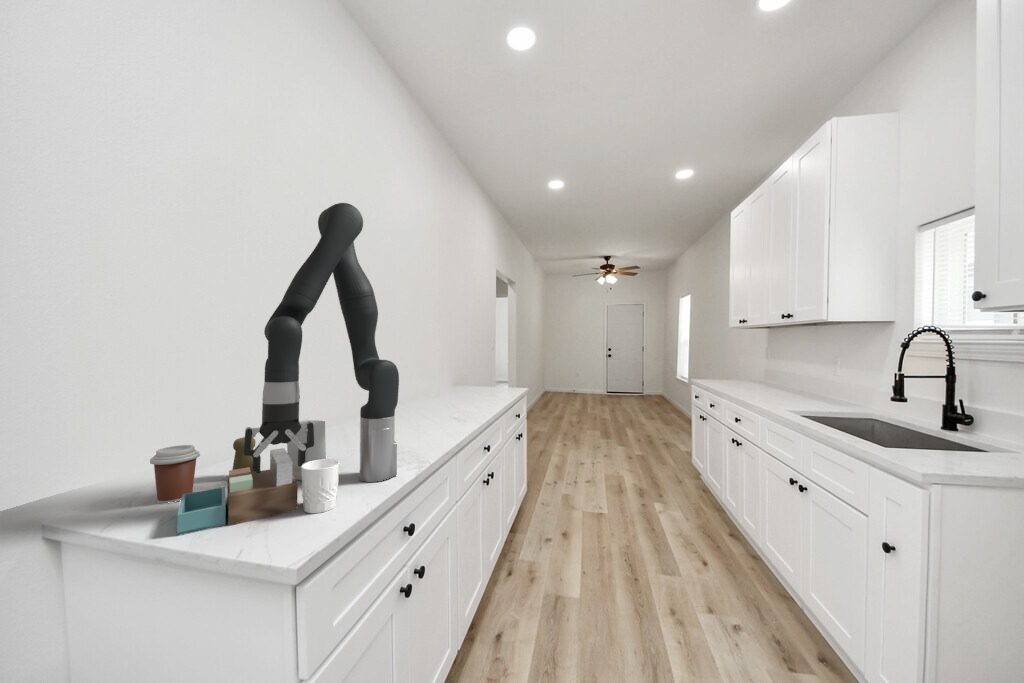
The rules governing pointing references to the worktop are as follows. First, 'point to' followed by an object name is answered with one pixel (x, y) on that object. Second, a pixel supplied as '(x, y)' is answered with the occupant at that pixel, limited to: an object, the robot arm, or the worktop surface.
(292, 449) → the skincare box
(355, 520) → the worktop surface
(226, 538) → the worktop surface
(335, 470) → the white cup
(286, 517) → the worktop surface
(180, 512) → the teal box
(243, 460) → the olive pepper mill
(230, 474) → the terracotta tile
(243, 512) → the brown wooden box
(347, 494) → the worktop surface
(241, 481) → the sage tile
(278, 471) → the steel bar
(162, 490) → the coffee cup
